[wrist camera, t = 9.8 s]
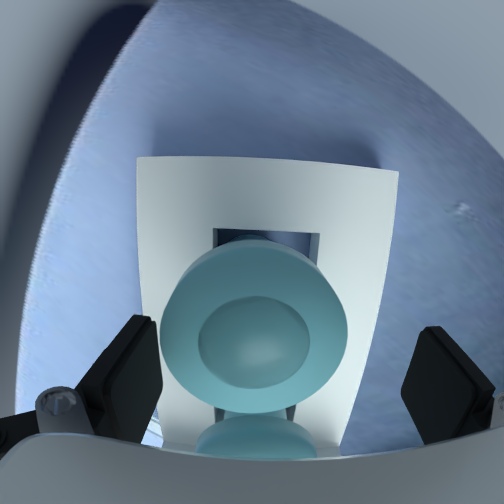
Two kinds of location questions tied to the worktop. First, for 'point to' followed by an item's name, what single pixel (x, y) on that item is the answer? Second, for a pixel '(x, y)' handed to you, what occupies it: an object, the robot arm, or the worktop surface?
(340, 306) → the teal round plug
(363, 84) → the worktop surface
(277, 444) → the teal flanged peg
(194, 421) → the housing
